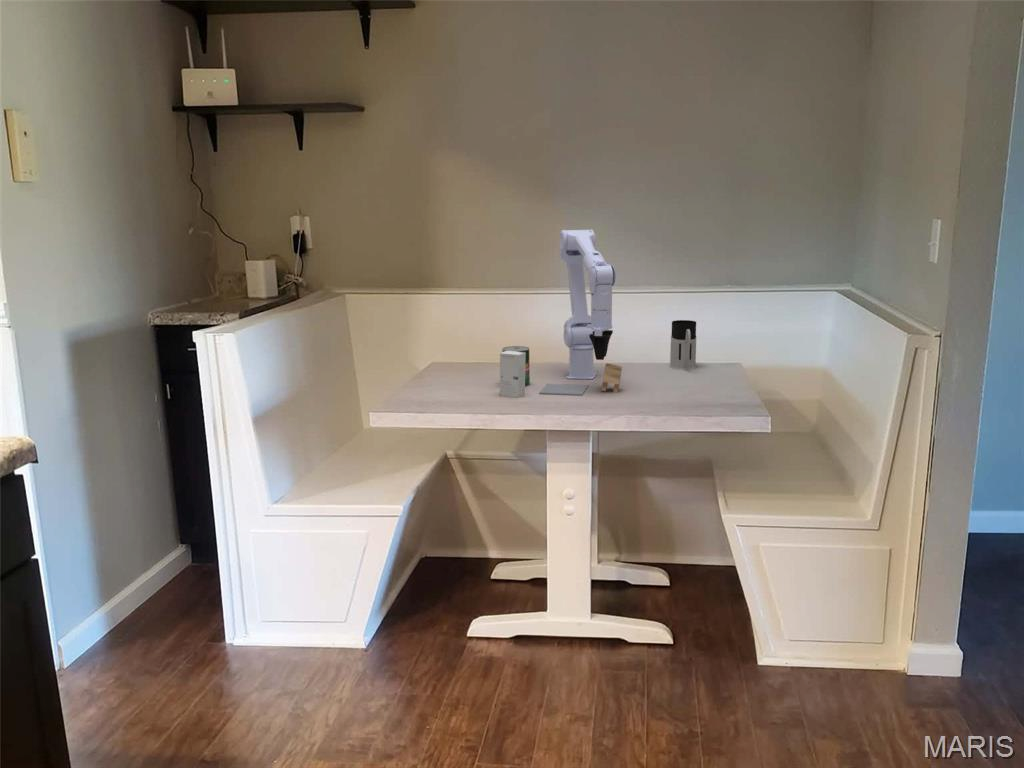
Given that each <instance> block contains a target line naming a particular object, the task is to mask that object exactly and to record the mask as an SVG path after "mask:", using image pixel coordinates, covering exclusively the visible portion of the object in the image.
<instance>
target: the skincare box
mask: <svg viewBox="0 0 1024 768" xmlns="http://www.w3.org/2000/svg"><path fill="white" fill-rule="evenodd" d="M525 360H526V353H525V352H517V351H505V352H502V351H501V352H500V353H499V396H500V397H501V396H502V397H509V398H515V399H517V398H520V397H523V396H525V395H526V387H525Z"/></svg>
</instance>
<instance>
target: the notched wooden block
mask: <svg viewBox="0 0 1024 768" xmlns="http://www.w3.org/2000/svg"><path fill="white" fill-rule="evenodd" d="M622 370H623V365H620V364H614V363H608V362H607V363H605V364H604V372H603V379H602V385H601V391H603V392H607V389H608V385H609V384H613V385H614V386H613V391H612V393H618V392H619V388H620V385H621V384H620V383H621V376H622Z"/></svg>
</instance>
